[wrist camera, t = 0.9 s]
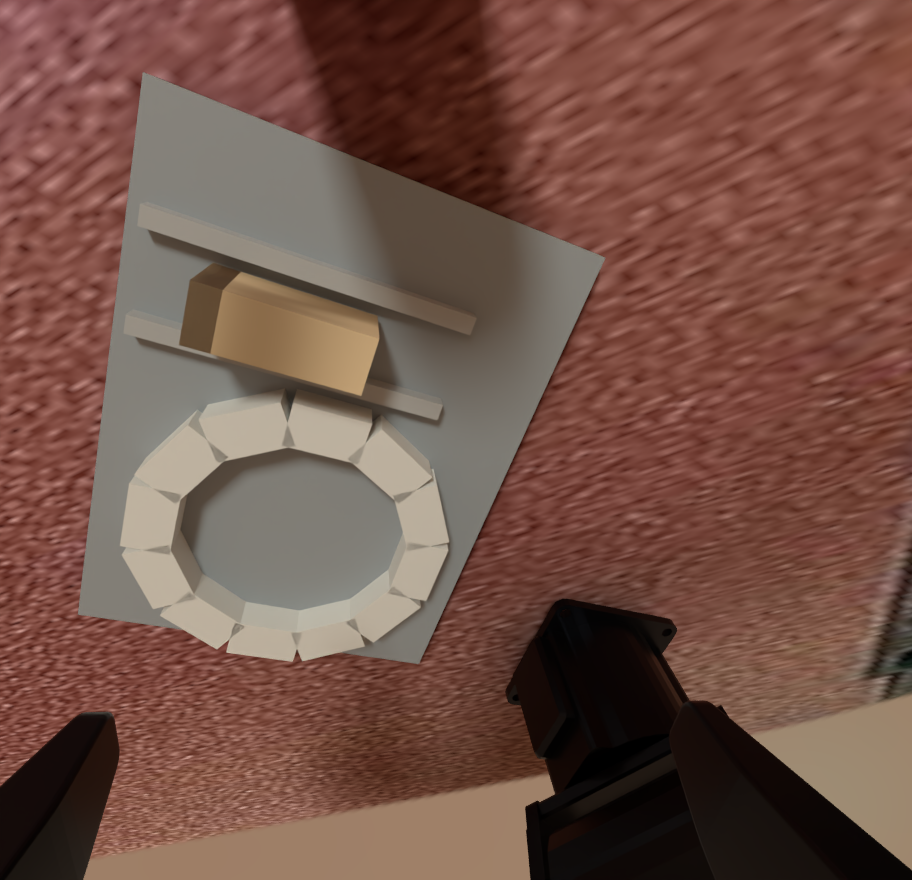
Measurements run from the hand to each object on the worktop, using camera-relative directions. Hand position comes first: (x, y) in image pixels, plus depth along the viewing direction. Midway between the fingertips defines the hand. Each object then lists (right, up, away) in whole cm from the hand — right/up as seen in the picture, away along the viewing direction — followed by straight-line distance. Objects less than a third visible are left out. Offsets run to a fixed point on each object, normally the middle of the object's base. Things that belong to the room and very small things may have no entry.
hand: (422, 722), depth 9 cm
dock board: (-4, +4, +12) cm, 13 cm away
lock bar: (-5, +8, +9) cm, 13 cm away
